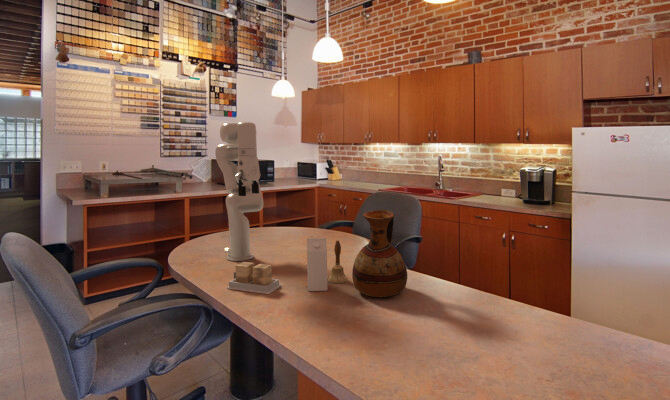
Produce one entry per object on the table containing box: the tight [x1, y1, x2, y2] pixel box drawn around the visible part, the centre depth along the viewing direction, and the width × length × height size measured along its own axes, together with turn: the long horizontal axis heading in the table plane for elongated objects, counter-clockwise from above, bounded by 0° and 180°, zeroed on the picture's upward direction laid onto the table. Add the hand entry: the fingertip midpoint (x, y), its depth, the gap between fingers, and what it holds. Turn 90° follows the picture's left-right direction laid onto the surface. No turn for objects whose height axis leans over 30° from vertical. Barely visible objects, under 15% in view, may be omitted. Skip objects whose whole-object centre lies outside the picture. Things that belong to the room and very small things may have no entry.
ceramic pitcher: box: [351, 209, 408, 298], centre depth 141 cm, size 20×20×30 cm
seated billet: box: [253, 263, 273, 286], centre depth 148 cm, size 5×5×8 cm
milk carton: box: [306, 237, 328, 292], centre depth 147 cm, size 7×7×19 cm
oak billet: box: [234, 261, 255, 283], centre depth 150 cm, size 5×5×8 cm
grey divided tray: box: [226, 278, 282, 295], centre depth 149 cm, size 18×9×3 cm, turn 69°
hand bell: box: [327, 240, 349, 284], centre depth 156 cm, size 8×8×16 cm
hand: (249, 194), depth 164 cm, fingers open, 9 cm apart
